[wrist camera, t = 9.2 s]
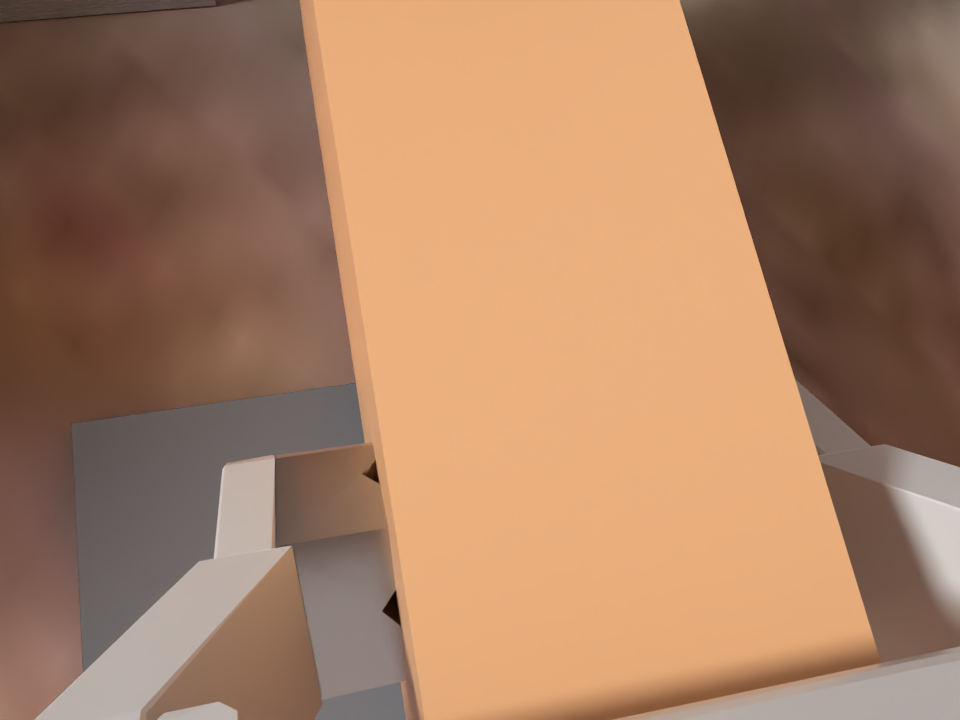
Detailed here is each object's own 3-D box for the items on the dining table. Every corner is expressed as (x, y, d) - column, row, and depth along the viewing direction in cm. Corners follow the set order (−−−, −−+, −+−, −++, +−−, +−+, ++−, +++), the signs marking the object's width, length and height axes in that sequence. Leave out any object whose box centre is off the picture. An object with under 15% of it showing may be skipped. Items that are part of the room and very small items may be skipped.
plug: (613, 707, 13) (906, 750, 6) (410, 750, 13) (446, 855, 5) (467, 30, 17) (533, -481, 9) (305, 45, 17) (239, -481, 9)
